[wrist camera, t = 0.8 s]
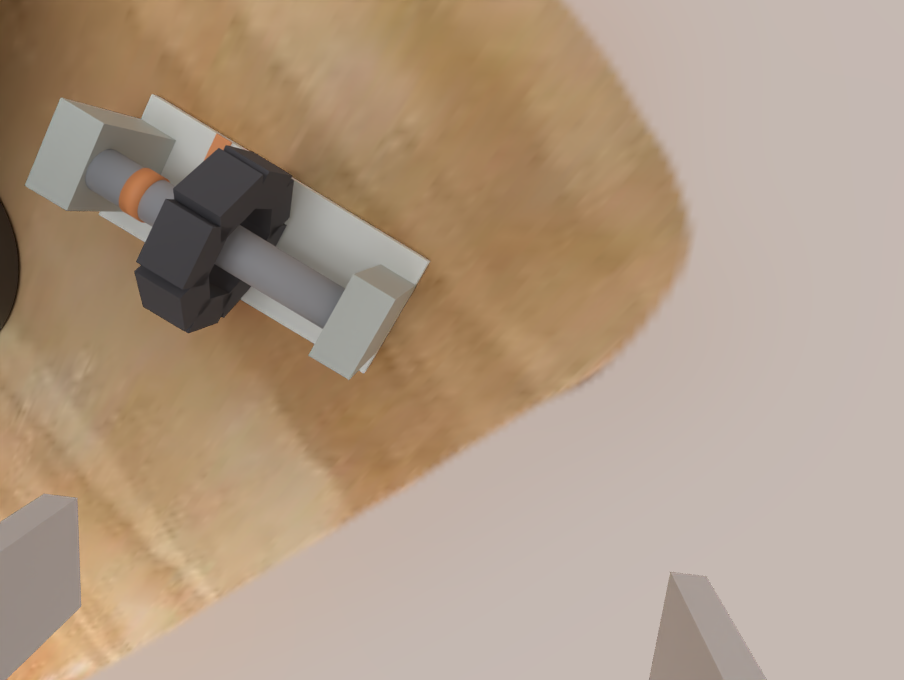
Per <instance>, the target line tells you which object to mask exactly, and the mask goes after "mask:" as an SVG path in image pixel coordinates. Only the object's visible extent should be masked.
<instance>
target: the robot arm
mask: <svg viewBox="0 0 904 680" xmlns="http://www.w3.org/2000/svg"><path fill="white" fill-rule="evenodd" d="M17 282H18V256H17V249H16V243H15V239H14V235H13V231H12V228H11V225H10V222H9V220H8V217H7V215H6V212H5V210H4V208H3V206H2V204H1V202H0V329H1V328H2V326H3V324H4V323H5V321H6V319H7V317H8V315H9V313H10V311H11V308H12V305H13V302H14V299H15V294H16V290H17ZM80 607H81V588H80V560H79V531H78V503H77V498H74V497H66V496H58V495H50V494H43V495H41V496H40V497H38V498H37V499H35V500H34V501H32V502H30V503H29V504H27V505H26V506H24V507H23V508H21V509H20V510H18V511H16V512H15V513H13V514H12V515H10V516H9V517H7V518H5V519H4V520H2V521H1V522H0V680H6V679H7V678H8V677H9V676H10V675H11V674H12V673H13V672H14V671H15V670H16V669H17V668H18V667H19V666H21V665H22V664H23V663H24V662H25V661H26V660H27V659H28V658H29V657H30V656H31V655H32V654H33V653H34V652H35V651H36V650H37V649H38V648H39V647H40V646H41V645H42V644H43V643H44V642H45V641H46V640H47V639H48V638H49V637H50V636H51V635H52V634H53V633H54V632H55V631H56V630H57V629H58V628H60V627H61V626H62V625H63V624H64V623H65V622H66V621H67V620H68V619H69V618H70V617H71V616H72V615H73V614H74V613H75V612H76V611H77V610H78V609H79V608H80ZM649 680H767V679H766V677H765V676H764V674H763V672H762V671H761V669H760V667H759V666H758V664H757V662H756V660H755V659H754V657H753V655H752V653H751V652H750V650H749V648H748V647H747V645H746V643H745V641H744V640H743V638H742V636H741V635H740V633H739V631H738V630H737V628H736V626H735V624H734V623H733V621H732V619H731V618H730V616H729V614H728V612H727V611H726V609H725V607H724V606H723V604H722V602H721V600H720V599H719V597H718V595H717V594H716V592H715V590H714V588H713V587H712V585H711V583H710V582H709V580H708V578H707V577H706V576H699V575H691V574H683V573H675V572H670V577H669V582H668V587H667V592H666V597H665V602H664V607H663V612H662V617H661V622H660V627H659V632H658V637H657V642H656V647H655V652H654V657H653V662H652V667H651V673H650V678H649Z"/></svg>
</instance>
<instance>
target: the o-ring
mask: <svg viewBox="0 0 904 680" xmlns="http://www.w3.org/2000/svg"><path fill="white" fill-rule="evenodd" d="M291 178H292V175H290V174H289V173H287V172H285V171H284V170H282V169H280V168H279V167H277V166H275V165H274V164H272V163H270V162H269V161H267V160H266V159H264V158H262V157H261V156H259V155H257V154H256V153H254V152H251V151H247V150H244V149H240V148H236V147H232V146H228V145H226V146H225V148H224V150H222V149H220V148H218V149H217V150H216V151H215V152H213V153H212V154H211V155H210V156H209V157H208V158H207V159H206V160H204V161H203V162H202V163H201V164H200V165H199V166H198V167H197V168H195V169H194V170H193V171H192V172H191V173H190V174H189V175H188V176H186V177H185V178H184V179H183V180H182V181H181V182H180V183H179V184H177V185H176V186H175V187H174V188H173V193H174V199H165V201H164V203H163V205H162V207H161V209H160V211H159V214H158V216H157V218H156V220H155V222H154V224H153V226H152V229H151V231H150V233H149V235H148V237H147V239H146V242H145V244H144V246H143V248H142V250H141V252H140V254H139V257H138V259H137V261H136V262H137V263H139V264H140V265H141V266H140V267H138V268H137V269H136V270H135V271H134V272H135V276H136V280H137V284H138V288H139V292H140V296H141V300H142V304H143V307H145V308H146V309H148V310H150V311H151V312H153V313H155V314H156V315H158V316H160V317H161V318H163V319H165V320H166V321H168V322H170V323H171V324H173V325H175V326H176V327H178V328H180V329H181V330H183V331H186V332H187V333H191V332H194V331H196V330H199V329H202V328H205V327H207V326H210V325H213V324H216V323H218V321H219V319H220V317H223V318H224V317H225V316H226V315H227V314H228V312H229V311H230V310H231V309H232V308H233V307H234V306H235V305H236V303H237V302H238V301H239V300H240V299H241V298H242V297H243V295H244V294H245V293H246V292H247V291H248V290H249V289H250V288H251V286H250V285H248V284H247V283H245V282H243V281H242V280H240V279H238V278H237V277H235V276H233V275H232V274H230V273H228V272H227V271H225V270H223V269H222V268H220V267H218V266H217V265H215V262H216V260H217V258H218V256H219V254H220V252H221V250H222V248H223V246H224V244H225V242H226V240H227V238H228V236H229V235H230V234H231V233H232V232H233V231H234V230H235V229H236V228H237V227H238V226H239V225H241V226H242V227H244V228H246V229H247V230H249V231H251V232H252V233H254V234H256V235H257V236H259V237H261V238H262V239H264V240H266V241H267V242H269V243H271V244H272V245H274V246H275V247H276V245H277V243H278V241H279V239H280V237H281V235H282V234H283V232H284V230H285V228H286V226H287V225H286V224H284V223H285V222H286V221H287V220H288V218H289V217H290V210H291V202H292V193H293V185H294V180H293V179H291Z"/></svg>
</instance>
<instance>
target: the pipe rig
mask: <svg viewBox="0 0 904 680" xmlns="http://www.w3.org/2000/svg"><path fill="white" fill-rule="evenodd" d="M226 145H228V146H232V147H236V148H240V149H244V150H247V149H245V148H244V147H242V146H240V145H239V144H237V143H235V142H234V141H232V140H230V139H229V138H227V137H225V136H224V135H222V134H220V133H219V132H217V131H216V130H214V129H212V128H211V127H209V126H207V125H206V124H204V123H202V122H201V121H199V120H197V119H196V118H194V117H192V116H191V115H189V114H188V113H186V112H184V111H183V110H181V109H179V108H178V107H176V106H174V105H173V104H171V103H169V102H168V101H166V100H164V99H163V98H161V97H159V96H157V95H154V94H152V95H151V97H150V99H149V101H148V104H147V106H146V108H145V111H144V113H143V115H142V117H141V119H139V118H136V117H132V116H128V115H124V114H121V113H117V112H113V111H110V110H106V109H102V108H98V107H95V106H91V105H87V104H84V103H80V102H76V101H73V100H69V99H65V98H60V100H59V103H58V105H57V108H56V110H55V113H54V115H53V117H52V120H51V122H50V125H49V127H48V130H47V132H46V135H45V137H44V140H43V142H42V145H41V147H40V149H39V152H38V154H37V157H36V159H35V162H34V164H33V167H32V169H31V172H30V174H29V176H28V179H27V181H26V184H25V186H26V187H28V188H29V189H31V190H33V191H34V192H36V193H38V194H39V195H41V196H43V197H44V198H46V199H48V200H49V201H51V202H53V203H54V204H56V205H58V206H59V207H61V208H63V209H64V210H66V211H100V213H99V215H100V216H102V217H103V218H105V219H107V220H108V221H110V222H112V223H113V224H115V225H117V226H118V227H120V228H122V229H123V230H125V231H127V232H128V233H130V234H132V235H133V236H135V237H137V238H138V239H140V240H142V241H143V242H146V239H147V237H148V235H149V233H150V231H151V229H152V226H153V224H154V222H155V220H156V218H157V216H158V214H159V211H160V209H161V207H162V205H163V203H164V201H165V199H174V193H173V188H174V187H175V186H176V185H177V184H179V183H180V182H181V181H182V180H183V179H184V178H185V177H186V176H188V175H189V174H190V173H191V172H192V171H193V170H194V169H195V168H197V167H198V166H199V165H200V164H201V163H202V162H203V161H204V160H206V159H207V158H208V157H209V156H210V155H211V154H212V153H213V152H215V151H216V150H217V149H218V148H220V149H222V150H224V148H225V146H226ZM247 151H249V150H247ZM291 179H293V180H294V185H293V193H292V202H291V210H290V217H289V218H288V220H287V221H286V222H285V223H284V224H286V225H287V226H286V228H285V230H284V232H283V234H282V235H281V237H280V239H279V241H278V243H277V245H276V247H275V246H274V245H272V244H271V243H269V242H267V241H266V240H264V239H262V238H261V237H259V236H257V235H256V234H254V233H252V232H251V231H249V230H247V229H246V228H244V227H242V226H241V225H239V226H238V227H237V228H236V229H235V230H234V231H233V232H232V233H231V234H230V235H229V236H228V238H227V240H226V242H225V244H224V246H223V248H222V250H221V252H220V254H219V256H218V258H217V260H216V262H215V265H217V266H218V267H220V268H222V269H223V270H225V271H227V272H228V273H230V274H232V275H233V276H235V277H237V278H238V279H240V280H242V281H243V282H245V283H247V284H248V285H250V286H251V288H250V289H249V290H248V291H247V292H246V293H245V294H244V295H243V297H242V298H241V299H240V300H242V301H244V302H245V303H247V304H249V305H250V306H252V307H254V308H255V309H257V310H259V311H260V312H262V313H264V314H265V315H267V316H269V317H270V318H272V319H274V320H275V321H277V322H279V323H280V324H282V325H284V326H285V327H287V328H289V329H290V330H292V331H294V332H295V333H297V334H299V335H300V336H302V337H304V338H305V339H307V340H309V341H310V342H312V343H314V346H313V348H312V350H311V352H310V353H309V355H308V356H310V357H312V358H313V359H315V360H317V361H318V362H320V363H322V364H323V365H325V366H327V367H328V368H330V369H332V370H333V371H335V372H337V373H338V374H340V375H342V376H343V377H345V378H347V379H348V380H350V379H351V378H352V377H353V376H354V375H355V374H356V372H357V371H358V370H359V371H360V372H362V373H365V372H366V371H367V369H368V368H369V366H370V364H371V363H372V361H373V359H374V357H375V356H376V354H377V352H378V350H379V349H380V347H381V345H382V344H383V342H384V340H385V338H386V337H387V335H388V333H389V332H390V330H391V328H392V326H393V325H394V323H395V321H396V320H397V318H398V316H399V314H400V313H401V311H402V309H403V308H404V306H405V304H406V302H407V301H408V299H409V297H410V296H411V294H412V292H413V290H414V289H415V287H416V285H417V284H418V282H419V280H420V278H421V277H422V275H423V273H424V272H425V270H426V268H427V266H428V265H429V263H430V260H428V259H427V258H425V257H423V256H422V255H420V254H418V253H417V252H415V251H413V250H412V249H410V248H408V247H407V246H405V245H404V244H402V243H400V242H399V241H397V240H395V239H394V238H392V237H390V236H389V235H387V234H385V233H384V232H382V231H380V230H379V229H377V228H375V227H374V226H372V225H371V224H369V223H367V222H366V221H364V220H362V219H361V218H359V217H357V216H356V215H354V214H352V213H351V212H349V211H347V210H346V209H344V208H343V207H341V206H339V205H338V204H336V203H334V202H333V201H331V200H329V199H328V198H326V197H324V196H323V195H321V194H319V193H318V192H316V191H314V190H313V189H311V188H310V187H308V186H306V185H305V184H303V183H301V182H300V181H298V180H296V179H295V178H293V177H292V178H291Z"/></svg>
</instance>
